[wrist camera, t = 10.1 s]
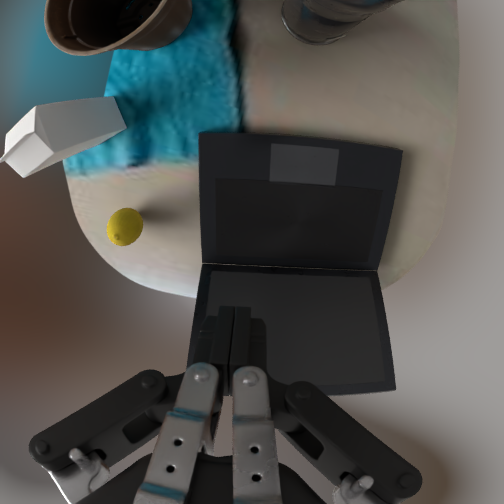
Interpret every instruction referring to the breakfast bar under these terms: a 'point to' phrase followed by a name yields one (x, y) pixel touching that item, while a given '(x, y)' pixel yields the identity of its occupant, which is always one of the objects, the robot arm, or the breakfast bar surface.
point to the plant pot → (114, 24)
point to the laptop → (295, 200)
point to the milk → (60, 132)
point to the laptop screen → (308, 323)
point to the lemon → (124, 226)
